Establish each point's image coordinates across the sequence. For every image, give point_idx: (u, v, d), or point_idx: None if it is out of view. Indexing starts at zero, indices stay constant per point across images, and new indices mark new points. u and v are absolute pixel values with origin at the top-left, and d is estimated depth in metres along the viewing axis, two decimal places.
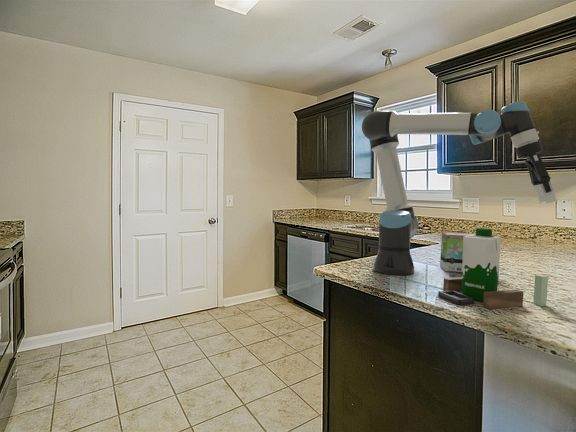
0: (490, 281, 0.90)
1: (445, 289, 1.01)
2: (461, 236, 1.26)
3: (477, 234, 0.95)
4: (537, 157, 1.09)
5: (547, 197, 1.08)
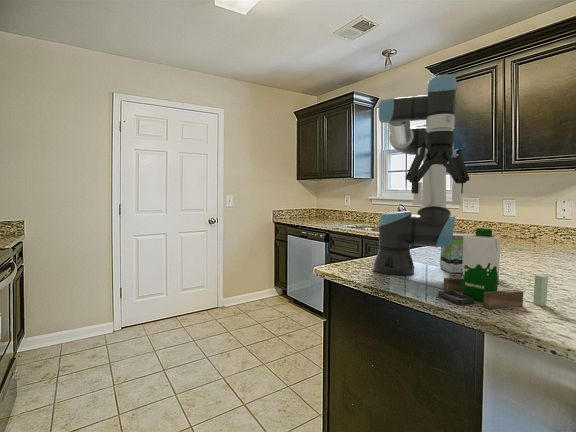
0: (490, 281, 0.90)
1: (445, 289, 1.01)
2: None
3: (477, 234, 0.95)
4: (420, 151, 0.93)
5: (414, 198, 0.95)
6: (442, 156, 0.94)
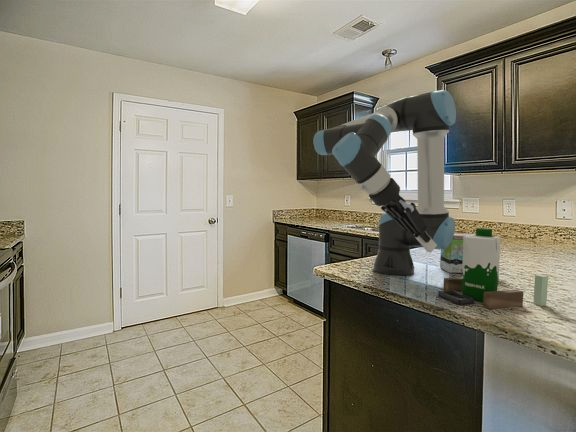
0: (490, 281, 0.90)
1: (445, 289, 1.01)
2: None
3: (477, 234, 0.95)
4: None
5: None
6: None
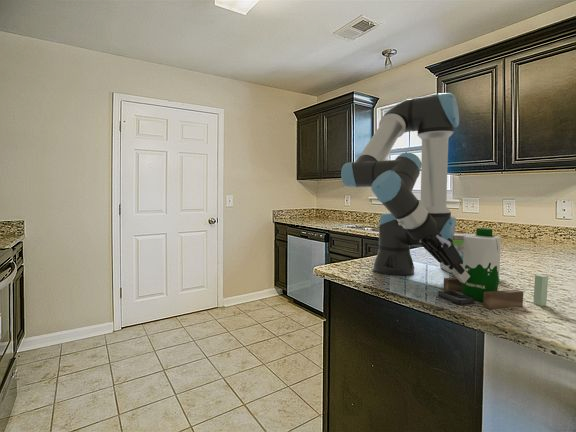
0: (491, 281, 0.90)
1: (445, 289, 1.01)
2: None
3: (477, 234, 0.95)
4: None
5: None
6: None
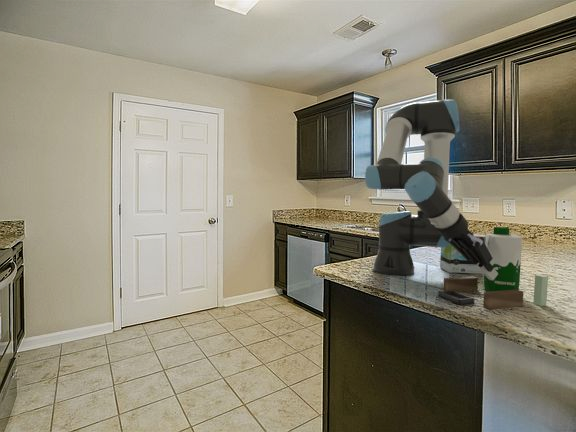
0: (518, 277, 0.95)
1: (445, 289, 1.01)
2: None
3: (498, 233, 0.99)
4: None
5: None
6: None
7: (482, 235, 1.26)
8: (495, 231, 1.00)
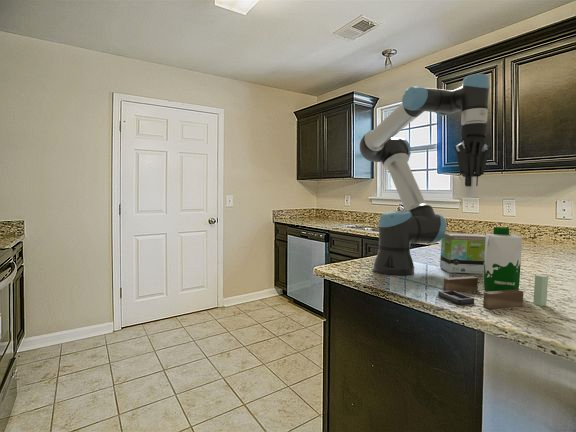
0: (518, 277, 0.95)
1: (445, 289, 1.01)
2: (465, 237, 1.24)
3: (498, 233, 0.99)
4: (459, 149, 1.06)
5: (467, 190, 1.09)
6: (476, 146, 1.07)
7: (482, 235, 1.26)
8: (495, 231, 1.00)
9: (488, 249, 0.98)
